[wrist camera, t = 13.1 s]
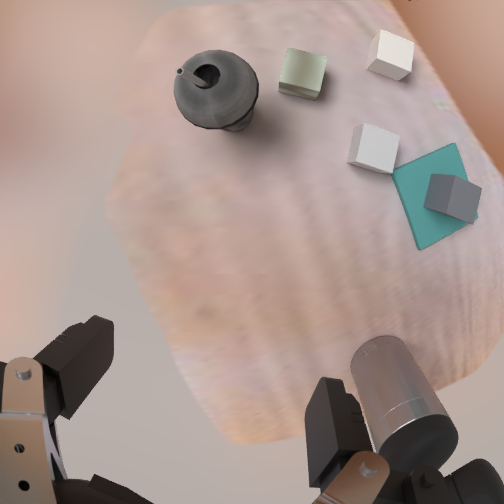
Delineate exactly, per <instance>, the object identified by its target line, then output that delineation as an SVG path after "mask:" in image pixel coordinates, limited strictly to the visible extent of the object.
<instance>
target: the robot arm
mask: <svg viewBox="0 0 504 504" xmlns="http://www.w3.org/2000/svg"><path fill="white" fill-rule="evenodd" d="M113 356H114V325H113V322H112V321H110V320H107V319H104V318H102V317H99V316H97V315H94V316H92V317H91V318H90V319H89V320H88V321H87V322H86V323H84V324H83V323H78V324H75V325H72V326H70V327H68V328H67V329H66V330H65V331H64V332H63V333H62V334H61V335H59V336H58V337H57V338H56V339H55V340H53V341H52V342H51V343H50V344H49V345H47V346H46V347H45V348H44V349H43V350H42V351H41V352H40V353H38V354H37V355H36V356H35V357H34V358H33V359H32V358H28V357H19V358H15V359H13V360H11V361H10V362H9V363H8V364H7V363H4V362H0V504H153V503H152V502H150V501H148V500H146V499H145V498H143V497H141V496H140V495H138V494H137V493H135V492H133V491H132V490H130V489H128V488H127V487H124V486H121V485H119V484H117V483H114V482H112V481H109V480H107V479H105V478H102V477H100V476H98V475H96V474H94V476H93V477H92V479H91V481H88V480H81V479H68V478H67V474H66V471H65V469H64V465H63V461H62V456H61V451H60V446H59V440H58V434H57V427H56V422H55V419H56V418H57V417H58V416H59V415H61V416H63V417H65V418H67V419H69V420H70V418H71V417H72V416H73V414H74V413H75V412H76V410H77V409H78V407H79V406H80V405H81V404H82V402H83V401H84V400H85V398H86V397H87V396H88V394H89V393H90V392H91V390H92V389H93V388H94V386H95V385H96V384H97V383H98V381H99V380H100V379H101V378H102V376H103V375H104V373H105V372H106V371H107V370H108V369H109V367H110V365H111V363H112V360H113ZM351 372H352V375H353V378H354V381H355V384H356V388H357V391H358V394H359V397H360V400H361V403H362V406H363V410H364V413H365V416H366V419H367V423H368V426H369V429H370V432H371V436H372V439H373V442H374V445H375V449H376V453H375V452H373V448H372V445H371V441H370V438H369V434H368V431H367V427H366V424H365V423H364V422H365V421H364V417H363V415H362V411H361V407H360V404H359V402H358V401H357V400H356V399H355V397H354V396H353V395H352V394H348V393H346V392H345V388H344V384H343V381H342V380H340V379H334V378H327V377H322V378H321V379H320V380H319V382H318V385H317V387H316V389H315V391H314V393H313V395H312V397H311V399H310V401H309V403H308V406H307V408H306V412H305V430H306V442H307V456H308V470H309V487H315V488H320V489H321V494H320V495H319V497H318V498H317V499H316V500H315V501H314V502H313V503H312V504H504V484H503V482H502V480H501V478H500V476H499V474H498V473H497V472H496V470H495V468H494V467H493V466H492V465H491V464H490V463H489V462H488V461H486V460H484V459H475V460H473V461H471V462H469V463H468V464H466V465H464V466H462V467H461V468H459V469H457V470H456V471H454V472H453V473H451V475H450V474H449V475H448V476H446V477H443V475H442V474H441V473H440V472H439V471H438V469H439V468H440V467H441V466H442V465H443V464H444V463H445V462H446V461H447V460H448V459H449V457H450V456H451V455H452V454H453V452H454V450H455V448H456V446H457V443H458V432H457V430H456V428H455V426H454V424H453V422H452V420H451V419H450V417H449V415H448V414H447V412H446V410H445V408H444V407H443V405H442V404H441V402H440V400H439V399H438V397H437V395H436V394H435V392H434V390H433V389H432V387H431V385H430V384H429V382H428V381H427V379H426V377H425V376H424V374H423V373H422V371H421V369H420V368H419V366H418V365H417V363H416V362H415V360H414V358H413V357H412V355H411V354H410V352H409V351H408V349H407V348H406V346H405V345H404V343H403V342H402V341H401V340H400V339H398V338H396V337H392V336H382V337H377V338H375V339H372V340H370V341H368V342H367V343H365V344H364V345H363V346H361V347H360V349H359V350H358V351H357V352H356V354H355V355H354V357H353V359H352V362H351Z"/></svg>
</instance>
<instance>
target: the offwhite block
mask: <svg viewBox="0 0 504 504" xmlns="http://www.w3.org/2000/svg"><path fill="white" fill-rule="evenodd" d="M413 50H414V43H413V42H411V41H408V40H406V39H404V38H401V37H399V36H397V35H394V34H392V33H389V32H387V31H384V30H382V29H380V31H379V32H378V33H377V35H376V36H375V37H374V39H373V40H372V41H371V44H370V50H369V56H368V62H367V68H366V69H367V70H370V71H372V72H375V73H378V74H381V75H383V76H386V77H388V78H391V79H393V80H396V81H399V80H400V79H402V78H403V77H405V76H406V75H408V74H409V73H411V69H412V60H413Z"/></svg>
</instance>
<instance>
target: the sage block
mask: <svg viewBox="0 0 504 504" xmlns="http://www.w3.org/2000/svg"><path fill="white" fill-rule="evenodd" d="M326 62H327V57H324V56H320V55H317V54H313V53H309V52H305V51H301V50H297V49H292V48H287V52H286V56H285V60H284V64H283V68H282V72H281V76H280V79H279V92H282V93H286V94H290V95H294V96H298V97H302V98H306V99H310V100H313V101H315V99H316V98H317V96H318V94H319V92H320V89H321V84H322V80H323V75H324V71H325V66H326Z"/></svg>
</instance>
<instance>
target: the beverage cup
mask: <svg viewBox="0 0 504 504" xmlns="http://www.w3.org/2000/svg"><path fill="white" fill-rule="evenodd" d="M176 74H177V76H176V79H175V84H174V96H175V100H176V103H177V106H178V108H179V110H180V111H181V113H182V114H183V116H184V117H185V119H187V120H188V121H190V122H191V123H192V124H194V125H195V126H198V127H202V128H205V129H222V130H226V131H239V130H242V129H243V128H245V127H246V126H247V125H248V124H249V123H250V121H251V118H252V115H253V108H254V105H255V103H256V101H257V98H258V92H259V83H258V79H257V76H256V73H255V72H254V70H253V69H252V68H251V66H250V65H249V64H248V63H247V62H246V61H245V60H243V59H242V58H240V57H239V56H237V55H236V54H234V53H231V52H227V51H223V50H208V51H205V52H202V53H199V54H196V55H195V56H193V57H192V58H190V59H189V60H187V61H186V62H185V64H184V65H183V66H182V67H181V68H178V69H177V70H176Z"/></svg>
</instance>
